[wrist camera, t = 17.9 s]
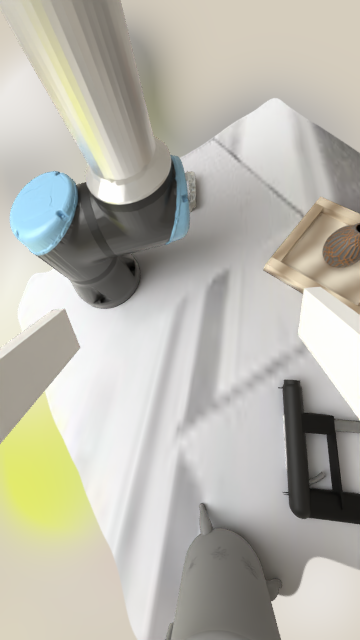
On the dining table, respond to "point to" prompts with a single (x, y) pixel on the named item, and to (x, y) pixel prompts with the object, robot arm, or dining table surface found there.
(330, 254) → the vase
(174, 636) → the mug
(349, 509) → the door handle
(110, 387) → the dining table surface
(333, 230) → the tray
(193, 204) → the egg carton
